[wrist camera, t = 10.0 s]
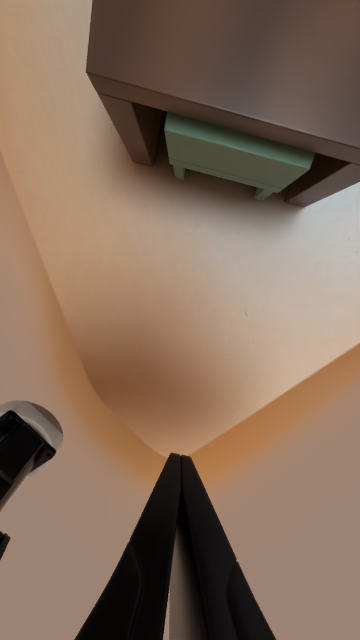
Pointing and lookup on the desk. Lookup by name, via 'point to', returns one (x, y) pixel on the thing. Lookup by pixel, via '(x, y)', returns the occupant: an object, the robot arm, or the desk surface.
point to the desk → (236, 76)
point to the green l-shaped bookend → (233, 155)
